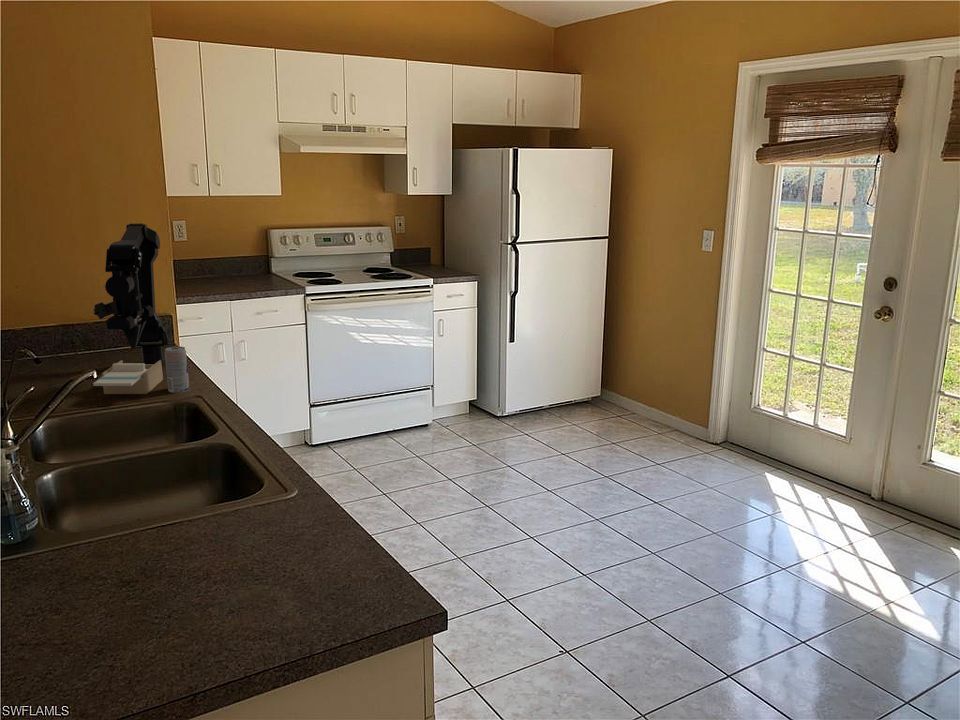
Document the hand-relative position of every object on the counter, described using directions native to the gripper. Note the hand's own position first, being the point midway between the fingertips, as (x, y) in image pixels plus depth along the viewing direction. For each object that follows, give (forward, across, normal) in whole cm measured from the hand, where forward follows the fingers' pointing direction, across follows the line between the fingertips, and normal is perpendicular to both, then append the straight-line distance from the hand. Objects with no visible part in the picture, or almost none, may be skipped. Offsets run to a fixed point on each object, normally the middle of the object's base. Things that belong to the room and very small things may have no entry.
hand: (133, 347), depth 210 cm
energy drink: (+11, +5, +13) cm, 18 cm away
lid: (+6, +10, 0) cm, 11 cm away
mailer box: (+11, +2, 0) cm, 11 cm away
